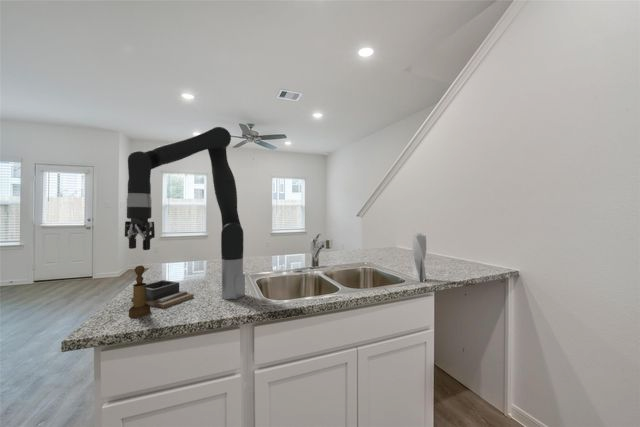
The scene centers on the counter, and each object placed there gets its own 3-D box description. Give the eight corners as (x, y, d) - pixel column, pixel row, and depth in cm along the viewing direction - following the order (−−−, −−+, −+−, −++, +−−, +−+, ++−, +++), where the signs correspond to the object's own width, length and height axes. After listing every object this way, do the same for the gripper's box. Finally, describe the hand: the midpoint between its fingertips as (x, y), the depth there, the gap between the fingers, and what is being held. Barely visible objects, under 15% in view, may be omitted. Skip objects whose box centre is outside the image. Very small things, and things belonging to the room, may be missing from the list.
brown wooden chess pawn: (138, 318, 90) (138, 268, 90) (124, 316, 92) (123, 267, 91) (154, 311, 97) (154, 264, 97) (140, 309, 98) (140, 263, 98)
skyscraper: (408, 279, 144) (408, 230, 144) (416, 277, 149) (416, 230, 148) (421, 282, 137) (422, 231, 137) (429, 280, 142) (430, 230, 142)
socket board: (193, 297, 112) (193, 283, 112) (163, 308, 99) (163, 293, 99) (162, 291, 120) (162, 279, 120) (131, 301, 107) (131, 287, 107)
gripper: (161, 206, 95) (161, 249, 95) (138, 206, 101) (138, 246, 101) (140, 205, 88) (140, 252, 88) (116, 205, 94) (116, 249, 94)
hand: (139, 249), depth 94 cm, fingers open, 8 cm apart
